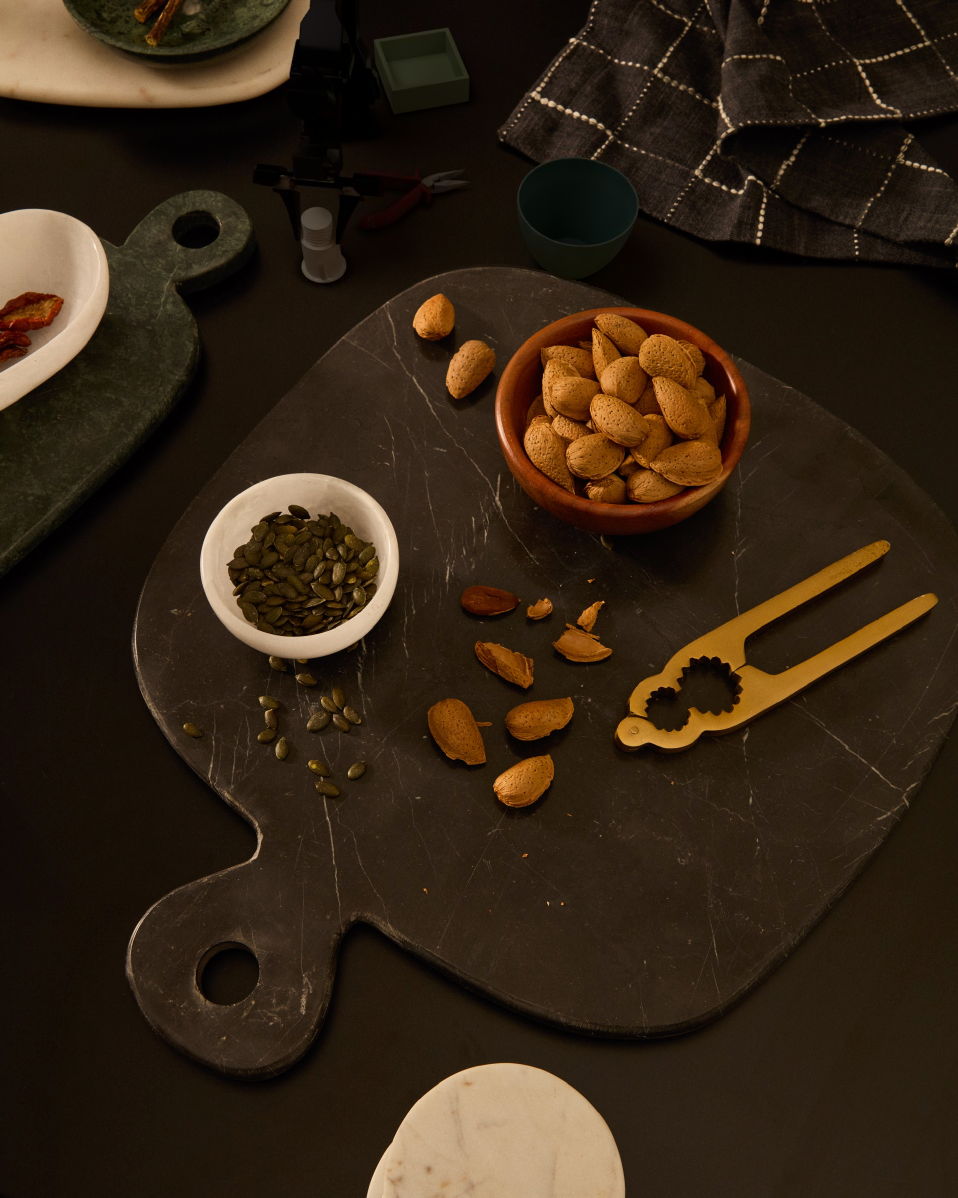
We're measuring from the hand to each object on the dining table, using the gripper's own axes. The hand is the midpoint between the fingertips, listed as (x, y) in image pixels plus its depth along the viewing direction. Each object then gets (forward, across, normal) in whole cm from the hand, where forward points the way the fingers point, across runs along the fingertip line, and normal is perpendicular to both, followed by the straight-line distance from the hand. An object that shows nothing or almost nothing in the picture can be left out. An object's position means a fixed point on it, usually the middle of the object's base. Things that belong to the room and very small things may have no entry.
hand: (317, 242), depth 148 cm
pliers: (-7, +11, +17) cm, 21 cm away
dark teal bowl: (-1, +39, +10) cm, 40 cm away
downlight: (+4, 0, +6) cm, 7 cm away
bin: (-28, +10, +38) cm, 48 cm away
